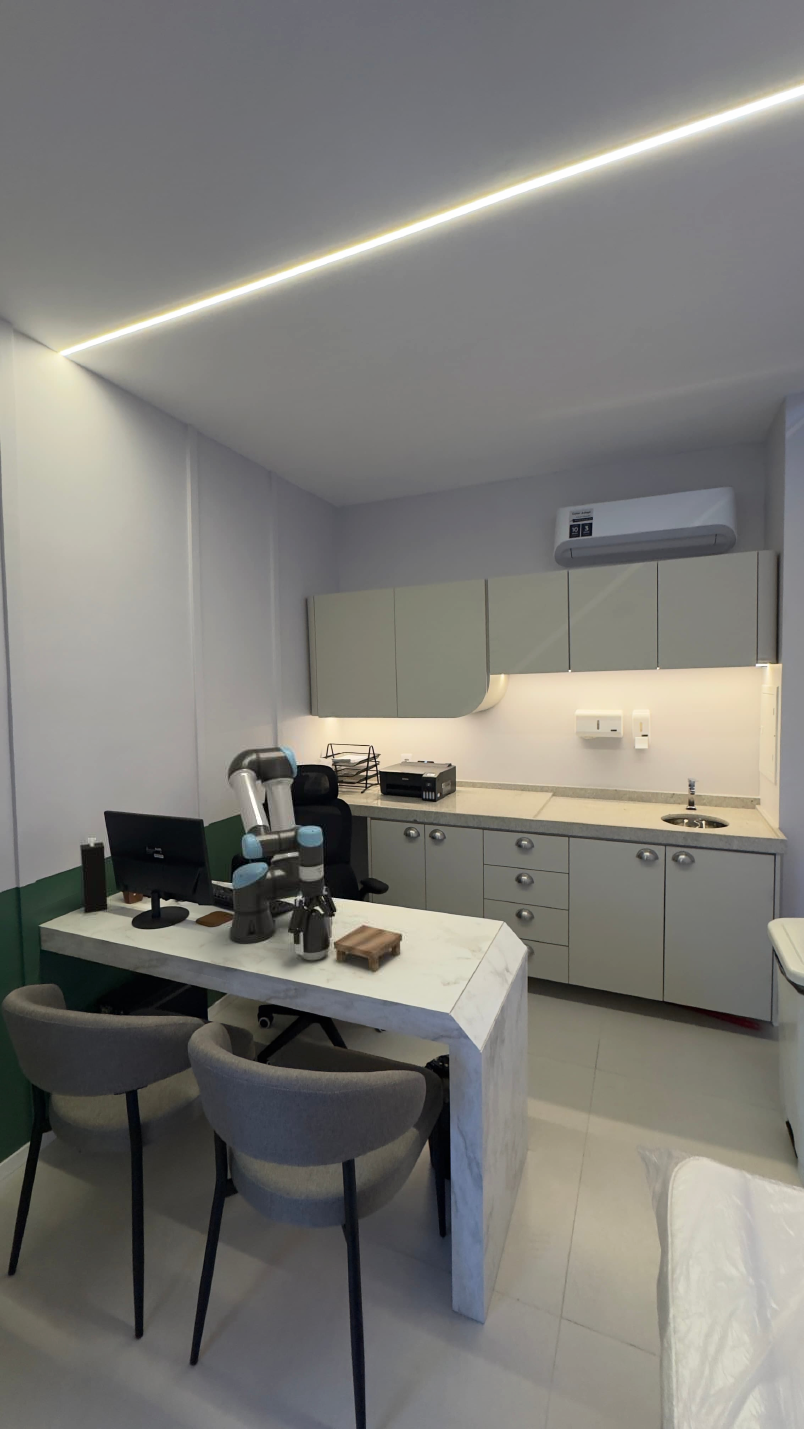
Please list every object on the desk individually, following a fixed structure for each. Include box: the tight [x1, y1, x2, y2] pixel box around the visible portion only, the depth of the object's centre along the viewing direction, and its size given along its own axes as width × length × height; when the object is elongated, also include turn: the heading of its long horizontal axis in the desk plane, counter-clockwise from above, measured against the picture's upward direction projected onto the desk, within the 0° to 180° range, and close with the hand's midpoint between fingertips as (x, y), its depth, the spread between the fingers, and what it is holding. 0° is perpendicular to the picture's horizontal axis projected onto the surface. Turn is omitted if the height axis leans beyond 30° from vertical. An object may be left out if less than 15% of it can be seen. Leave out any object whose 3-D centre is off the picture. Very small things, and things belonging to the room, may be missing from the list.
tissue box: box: [79, 837, 108, 914], centre depth 235 cm, size 8×8×28 cm
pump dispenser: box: [300, 907, 331, 962], centre depth 187 cm, size 10×10×15 cm
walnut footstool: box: [333, 924, 403, 972], centre depth 186 cm, size 15×15×6 cm
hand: (314, 945), depth 188 cm, fingers open, 13 cm apart
